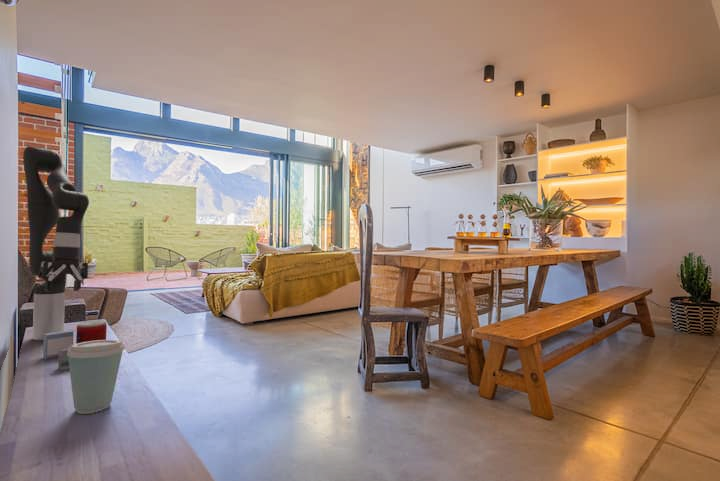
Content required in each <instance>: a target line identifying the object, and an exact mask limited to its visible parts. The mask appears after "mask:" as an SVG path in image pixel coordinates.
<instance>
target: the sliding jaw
mask: <svg viewBox="0 0 720 481" xmlns="http://www.w3.org/2000/svg"><path fill="white" fill-rule="evenodd" d="M72 345H74V331H73V330H71V329H69V330H64V331H60V332H53V333H46V334H44V340H43V349H42V350H43V351H42V352H43V354H42V355H43V356H42V357H43V359H45V360H48V359H54V358H59V349H63V348H69V347H71V346H72Z"/></svg>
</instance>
